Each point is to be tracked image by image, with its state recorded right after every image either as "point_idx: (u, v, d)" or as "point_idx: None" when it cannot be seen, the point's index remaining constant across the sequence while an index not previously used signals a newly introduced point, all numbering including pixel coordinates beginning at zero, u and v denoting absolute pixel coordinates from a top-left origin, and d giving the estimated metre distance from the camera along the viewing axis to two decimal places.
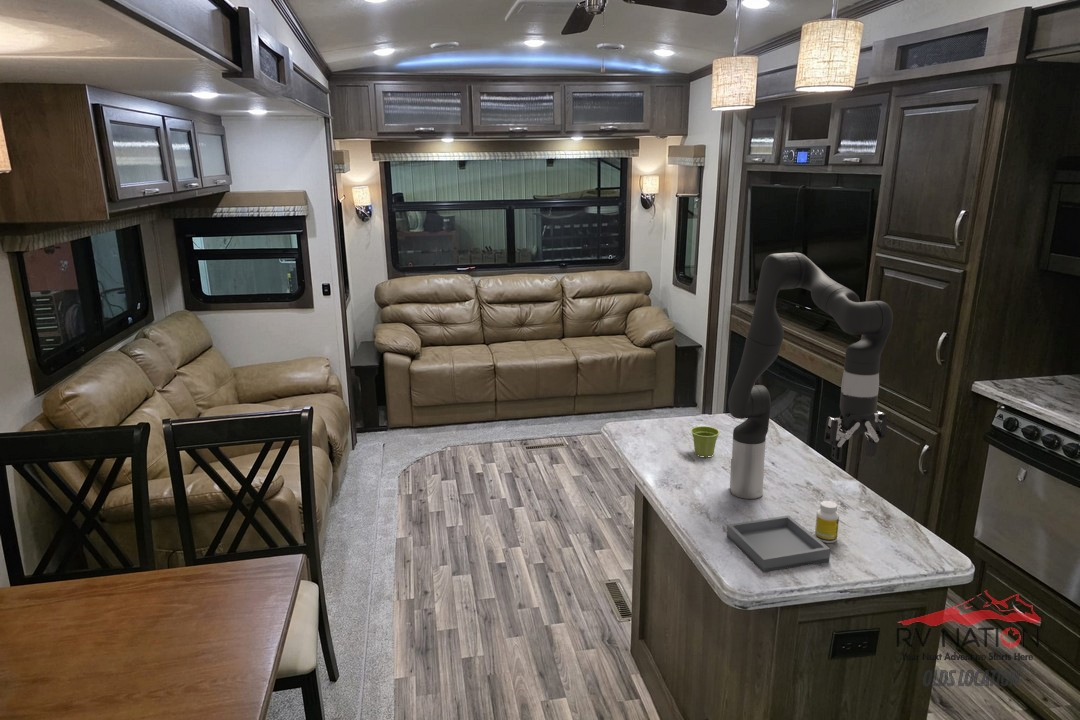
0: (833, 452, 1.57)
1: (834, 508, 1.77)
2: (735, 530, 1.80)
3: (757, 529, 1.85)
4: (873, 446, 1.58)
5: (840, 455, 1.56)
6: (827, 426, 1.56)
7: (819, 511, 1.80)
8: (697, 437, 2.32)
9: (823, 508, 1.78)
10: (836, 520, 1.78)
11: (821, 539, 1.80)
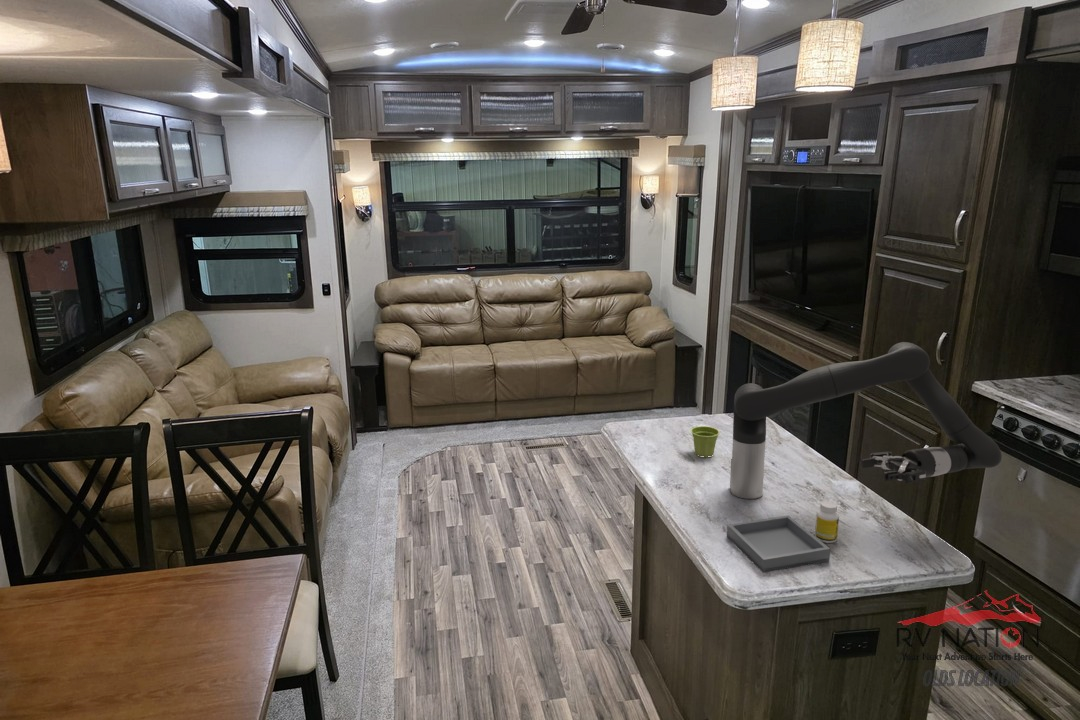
0: (893, 477, 1.75)
1: (834, 508, 1.78)
2: (735, 530, 1.80)
3: (757, 529, 1.85)
4: None
5: None
6: (920, 474, 1.75)
7: (819, 511, 1.80)
8: (697, 437, 2.32)
9: (823, 508, 1.78)
10: (836, 520, 1.78)
11: (821, 539, 1.80)
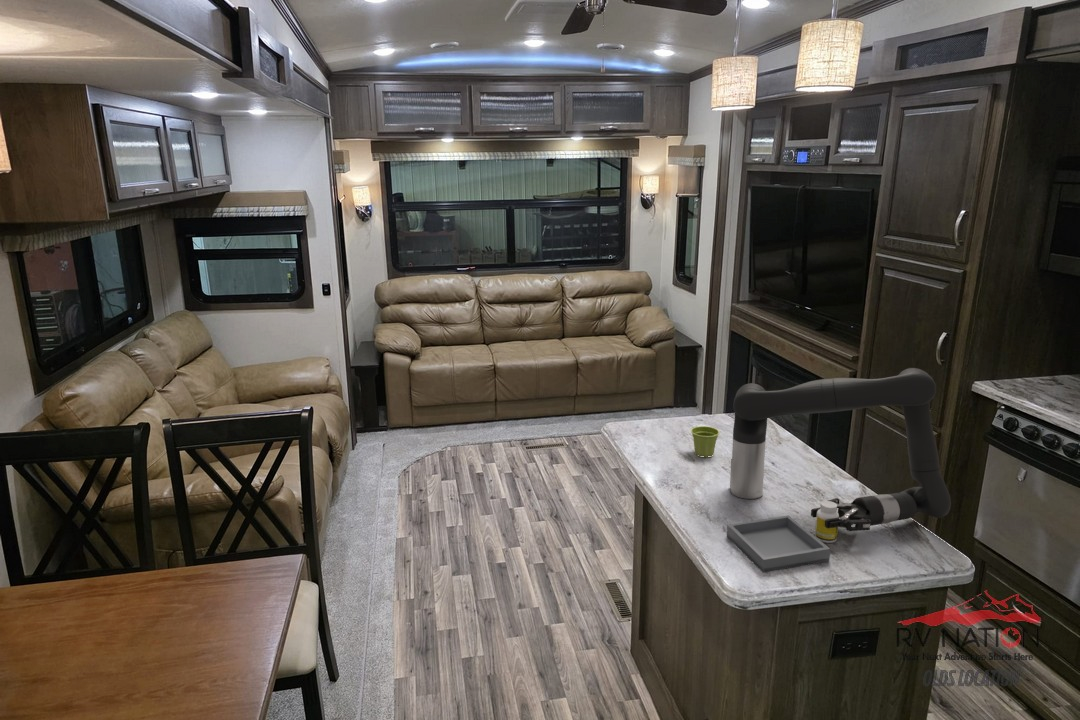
0: (835, 524, 1.76)
1: (834, 508, 1.78)
2: (735, 530, 1.80)
3: (757, 529, 1.85)
4: None
5: None
6: (862, 523, 1.75)
7: (819, 511, 1.80)
8: (697, 437, 2.32)
9: (823, 508, 1.78)
10: None
11: (821, 539, 1.80)
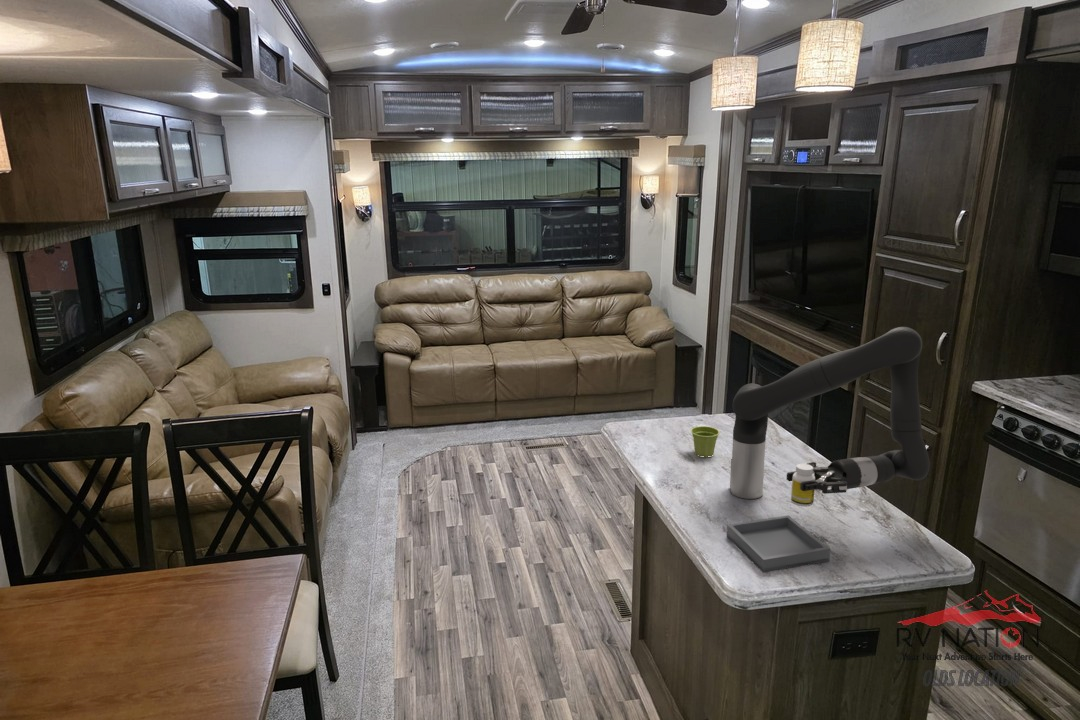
0: (811, 487, 1.71)
1: (810, 470, 1.72)
2: (735, 530, 1.80)
3: (757, 529, 1.85)
4: None
5: None
6: (839, 485, 1.70)
7: (795, 474, 1.75)
8: (697, 437, 2.32)
9: (799, 471, 1.73)
10: None
11: (797, 503, 1.74)
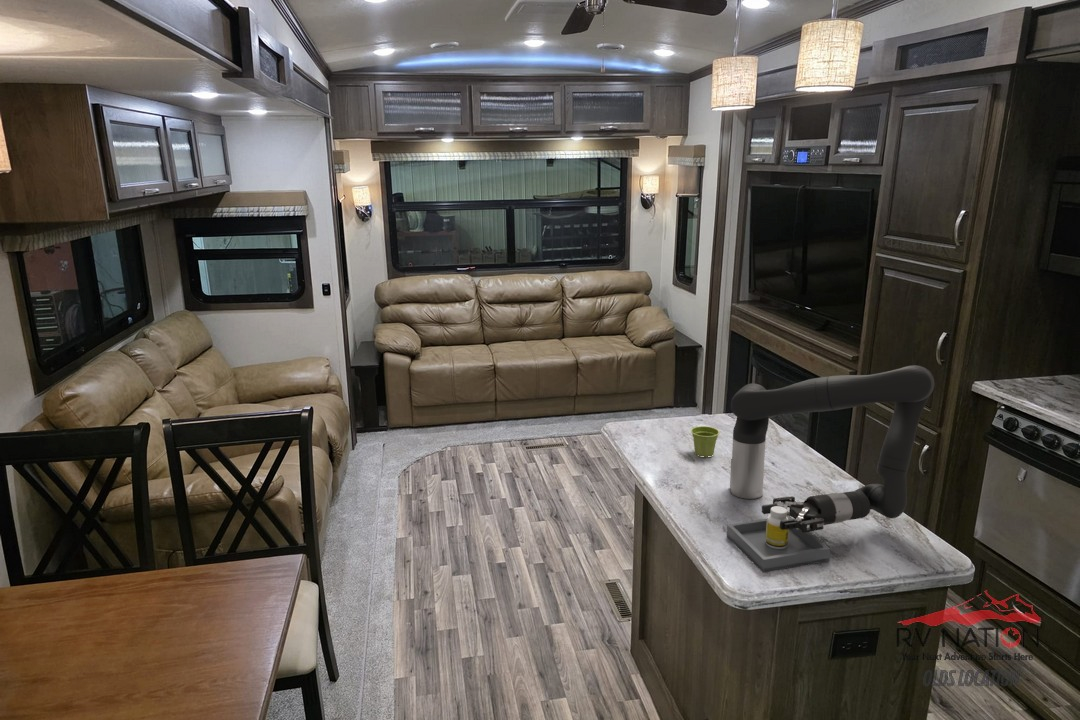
0: (790, 526, 1.70)
1: (784, 514, 1.73)
2: (735, 530, 1.80)
3: (757, 529, 1.85)
4: None
5: None
6: (817, 523, 1.70)
7: (769, 516, 1.76)
8: (697, 437, 2.32)
9: (773, 513, 1.74)
10: None
11: (771, 545, 1.76)
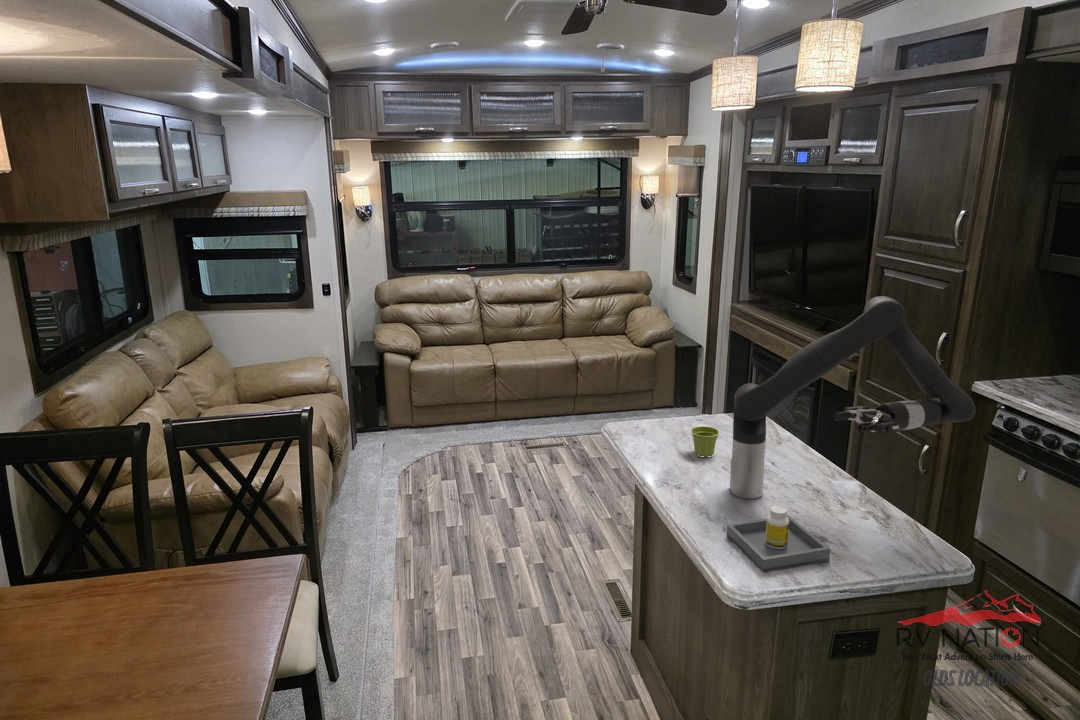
0: (866, 428, 1.74)
1: (784, 513, 1.73)
2: (735, 530, 1.80)
3: (757, 529, 1.85)
4: None
5: None
6: (893, 425, 1.74)
7: (769, 516, 1.76)
8: (697, 437, 2.32)
9: (773, 513, 1.74)
10: (786, 526, 1.74)
11: (771, 545, 1.76)
